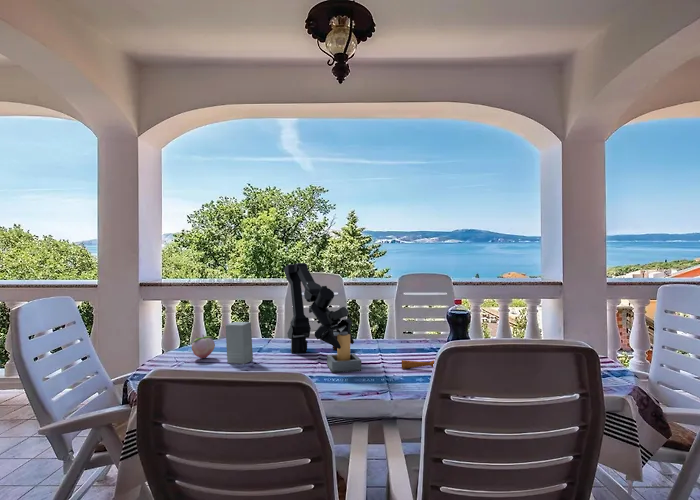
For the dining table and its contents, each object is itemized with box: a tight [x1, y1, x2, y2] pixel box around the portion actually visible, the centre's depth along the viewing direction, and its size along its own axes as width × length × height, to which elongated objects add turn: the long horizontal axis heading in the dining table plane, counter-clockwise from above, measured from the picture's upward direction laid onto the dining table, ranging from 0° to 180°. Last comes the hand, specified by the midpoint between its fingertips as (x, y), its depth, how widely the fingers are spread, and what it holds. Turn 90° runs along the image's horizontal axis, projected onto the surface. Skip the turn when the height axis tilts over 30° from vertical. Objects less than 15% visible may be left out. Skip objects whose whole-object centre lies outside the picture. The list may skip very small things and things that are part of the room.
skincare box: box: [225, 321, 254, 365], centre depth 167 cm, size 8×7×16 cm
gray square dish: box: [326, 353, 362, 374], centre depth 158 cm, size 11×11×4 cm
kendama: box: [401, 359, 434, 370], centre depth 156 cm, size 6×6×20 cm
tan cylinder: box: [336, 331, 351, 361], centre depth 158 cm, size 5×5×13 cm
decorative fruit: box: [191, 334, 216, 359], centre depth 172 cm, size 9×8×10 cm
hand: (346, 345), depth 158 cm, fingers open, 9 cm apart
